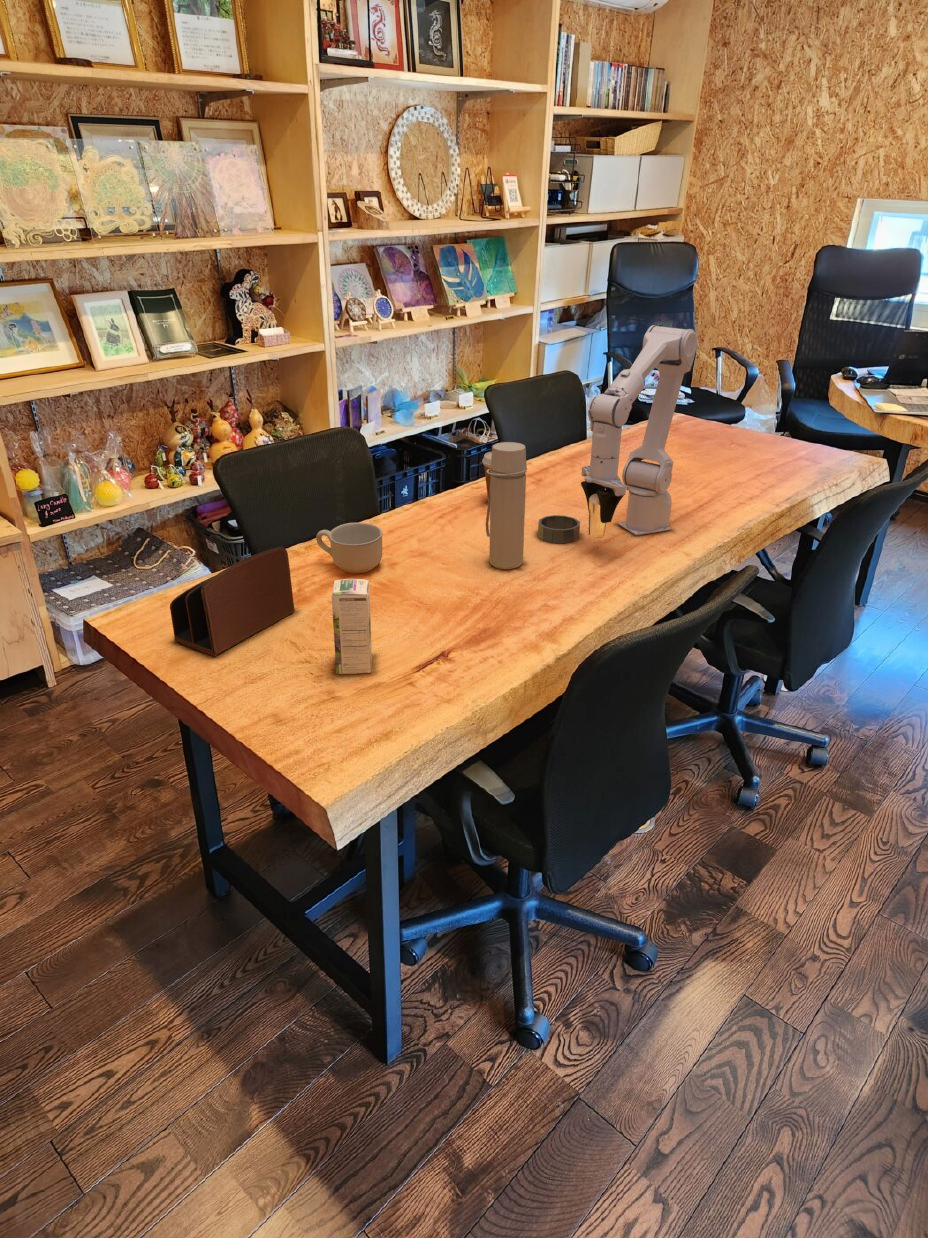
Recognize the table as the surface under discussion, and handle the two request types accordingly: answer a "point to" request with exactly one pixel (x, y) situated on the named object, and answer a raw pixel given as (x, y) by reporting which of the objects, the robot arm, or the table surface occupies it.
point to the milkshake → (595, 518)
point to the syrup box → (352, 626)
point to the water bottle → (507, 504)
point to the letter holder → (234, 603)
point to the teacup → (354, 546)
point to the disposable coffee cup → (487, 464)
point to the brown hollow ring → (558, 529)
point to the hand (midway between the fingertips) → (599, 518)
